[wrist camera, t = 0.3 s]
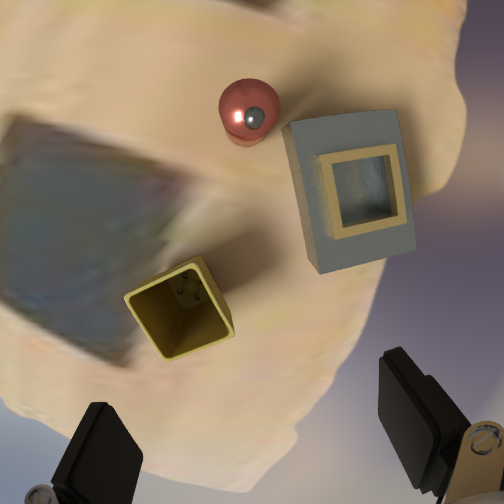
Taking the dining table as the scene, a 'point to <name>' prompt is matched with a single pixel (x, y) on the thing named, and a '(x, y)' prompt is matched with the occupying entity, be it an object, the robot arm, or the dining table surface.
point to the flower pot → (181, 310)
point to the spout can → (248, 111)
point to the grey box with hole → (351, 188)
